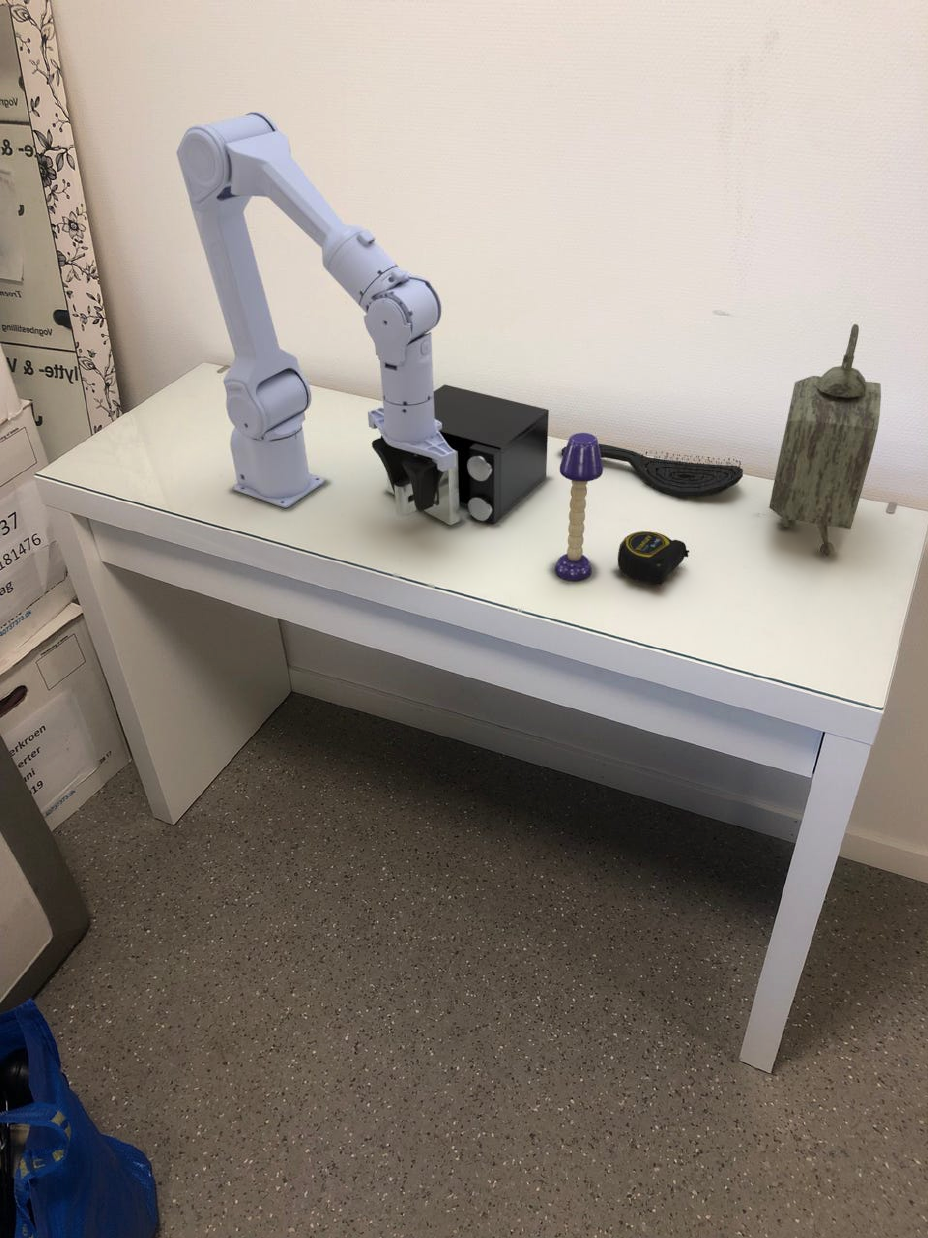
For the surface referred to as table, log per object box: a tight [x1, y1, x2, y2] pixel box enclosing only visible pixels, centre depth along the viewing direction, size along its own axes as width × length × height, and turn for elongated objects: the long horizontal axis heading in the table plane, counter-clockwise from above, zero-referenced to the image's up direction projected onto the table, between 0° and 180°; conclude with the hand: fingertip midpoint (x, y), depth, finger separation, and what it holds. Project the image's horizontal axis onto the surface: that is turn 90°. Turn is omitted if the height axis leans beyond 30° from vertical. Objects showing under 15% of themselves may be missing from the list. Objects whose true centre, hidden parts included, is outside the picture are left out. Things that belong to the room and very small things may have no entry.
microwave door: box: [386, 451, 461, 526], centre depth 114 cm, size 7×12×10 cm, turn 44°
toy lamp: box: [554, 432, 604, 581], centre depth 101 cm, size 5×5×17 cm
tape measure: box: [617, 530, 690, 586], centre depth 105 cm, size 7×7×4 cm
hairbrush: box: [561, 442, 744, 498], centre depth 123 cm, size 8×4×25 cm
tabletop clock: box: [768, 323, 882, 557], centre depth 104 cm, size 14×9×25 cm, turn 160°
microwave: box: [434, 383, 550, 525], centre depth 119 cm, size 14×16×10 cm
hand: (414, 500), depth 110 cm, fingers open, 4 cm apart
